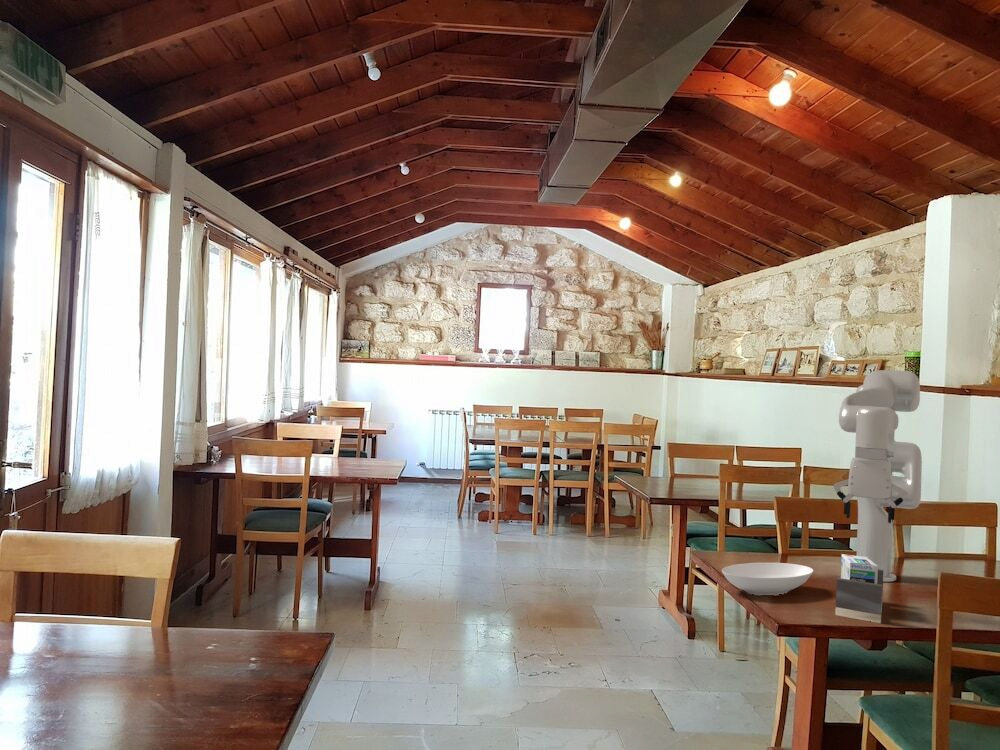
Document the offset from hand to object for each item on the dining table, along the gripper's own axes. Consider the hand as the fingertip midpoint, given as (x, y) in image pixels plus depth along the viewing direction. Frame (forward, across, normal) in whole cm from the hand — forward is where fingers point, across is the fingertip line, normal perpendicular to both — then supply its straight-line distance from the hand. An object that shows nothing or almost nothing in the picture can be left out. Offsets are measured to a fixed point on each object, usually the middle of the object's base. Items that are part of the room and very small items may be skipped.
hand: (868, 519), depth 184 cm
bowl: (+23, +24, +2) cm, 33 cm away
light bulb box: (+21, +2, +3) cm, 21 cm away
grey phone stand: (+23, +1, +3) cm, 23 cm away
